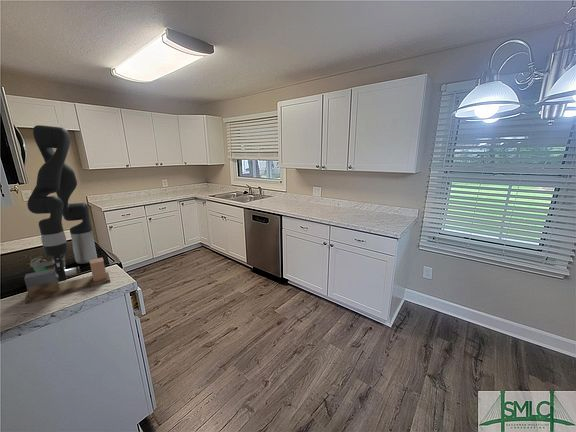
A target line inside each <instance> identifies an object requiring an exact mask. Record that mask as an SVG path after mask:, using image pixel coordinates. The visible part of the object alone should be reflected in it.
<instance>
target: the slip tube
mask: <svg viewBox="0 0 576 432" xmlns="http://www.w3.org/2000/svg"><path fill="white" fill-rule="evenodd" d="M78 274H81V269H80V266H76V267H75V266H74V267H70V268H67V269H66V268H65V275H66V276H67V277H68V276H69V277H70V276H73V275H78ZM55 275H56V278H58V279H59V276H58V274H56V272H55Z"/></svg>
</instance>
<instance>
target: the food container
mask: <svg viewBox="0 0 576 432" xmlns="http://www.w3.org/2000/svg"><path fill="white" fill-rule="evenodd" d="M29 266H30V267H32V268H33V271H34V272H39V271H44V270H48V269H53V268H54V263H53V262H52V259H51V260H49V259H48V258H45V257H43V255H40V256H37V257H35V258H33V259H31V260H30V263H29Z"/></svg>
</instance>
